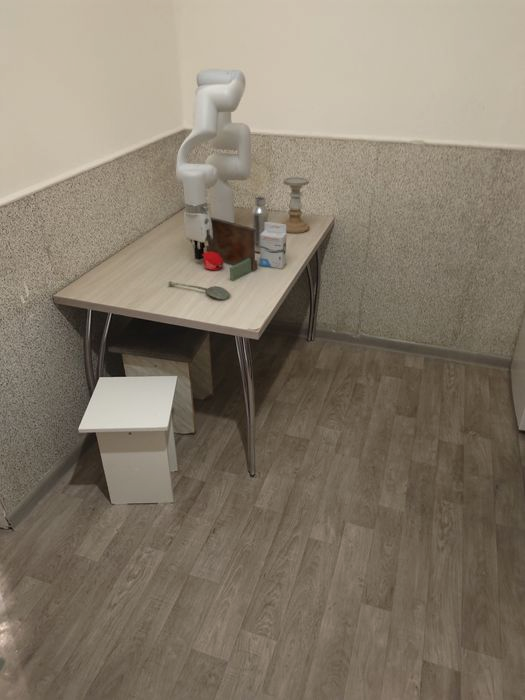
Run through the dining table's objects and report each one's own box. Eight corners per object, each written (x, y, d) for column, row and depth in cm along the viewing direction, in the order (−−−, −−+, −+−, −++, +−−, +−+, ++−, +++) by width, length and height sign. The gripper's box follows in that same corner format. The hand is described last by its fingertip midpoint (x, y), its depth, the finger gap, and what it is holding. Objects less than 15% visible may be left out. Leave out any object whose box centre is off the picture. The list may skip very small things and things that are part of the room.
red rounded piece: (226, 266, 183) (225, 250, 180) (220, 272, 178) (219, 256, 175) (206, 263, 185) (205, 247, 182) (199, 269, 180) (198, 253, 177)
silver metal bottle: (271, 249, 197) (271, 197, 186) (264, 255, 192) (264, 202, 181) (256, 246, 199) (255, 195, 188) (248, 252, 194) (247, 199, 183)
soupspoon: (222, 304, 159) (232, 297, 164) (223, 294, 157) (233, 287, 162) (164, 289, 167) (175, 282, 172) (163, 279, 165) (175, 273, 170)
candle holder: (314, 227, 218) (316, 178, 208) (300, 235, 210) (302, 185, 199) (289, 222, 224) (290, 175, 213) (274, 230, 215) (275, 181, 204)
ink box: (259, 266, 183) (259, 225, 175) (263, 260, 187) (263, 221, 179) (282, 269, 181) (282, 228, 173) (286, 263, 185) (287, 224, 177)
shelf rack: (186, 265, 184) (183, 224, 176) (211, 254, 192) (209, 214, 184) (235, 281, 172) (233, 238, 164) (258, 269, 181) (258, 227, 173)
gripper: (219, 209, 172) (222, 260, 182) (188, 201, 180) (192, 250, 190) (204, 214, 167) (207, 266, 177) (172, 206, 175) (177, 256, 185)
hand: (199, 258), depth 184 cm, fingers closed
